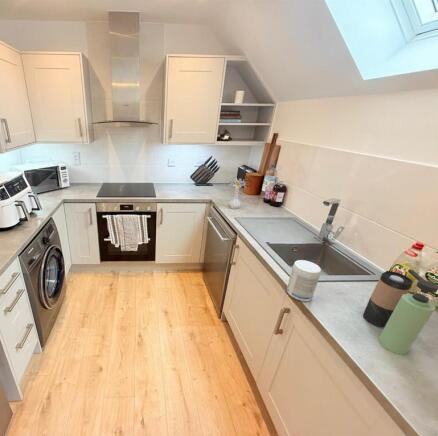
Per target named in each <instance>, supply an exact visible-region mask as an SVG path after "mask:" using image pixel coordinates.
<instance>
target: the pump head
mask: <svg viewBox="0 0 438 436" xmlns="http://www.w3.org/2000/svg"><path fill="white" fill-rule="evenodd" d="M407 272H408V273H409V274H410V275H411V276H412V277H413V278H414V279H415V280H417V283H416V287H417V288H418V289H420V293H421V294H424V295H427V294H429V293H431V294H436V293H438V285H437V284H436V283H434V282H432V281H429V280H425V279H424V278H423V277H422V276H421V275H419V274H418V273H417V272H416V271H415V270H414V269H411V268H409V269H408V271H407Z"/></svg>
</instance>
